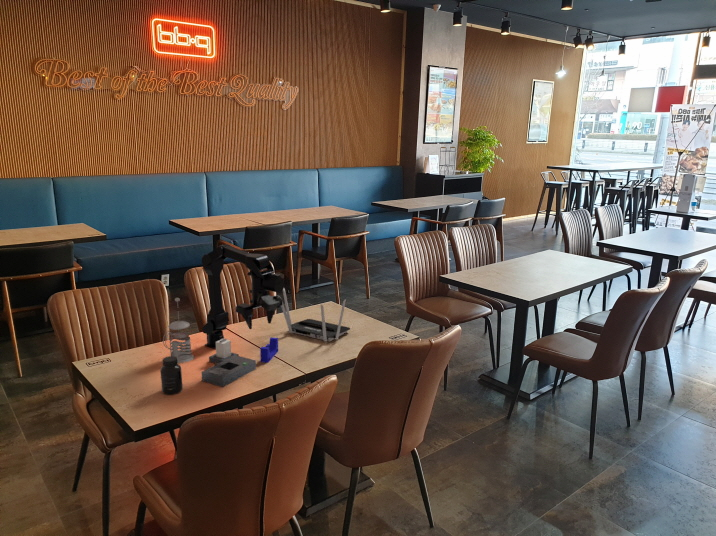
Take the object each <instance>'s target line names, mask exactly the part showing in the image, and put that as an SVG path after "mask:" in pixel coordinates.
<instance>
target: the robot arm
mask: <svg viewBox="0 0 716 536" xmlns="http://www.w3.org/2000/svg"><path fill="white" fill-rule="evenodd" d="M227 259H231V260H233V261H235V262H238V263H240V264H243V265H244V266H245V267H246V268H247V270H249V271H248V272H247V276H250V277H251V289H249V293H250V294H251V299H250V300H249V303H250V304H247V303H246V302H244V303H240V304H237V305H236V306H235V313H236V314H237V313H238V314H239V315H241V316H242V318H243V319H244V322H245V323H246V325H247V326H248V327H247V328H248V329H249V330H252V329H253V328H252V327H253V316H254V310H255V309H256V310H257V309H260V308H263V309H264V310H265V312H266V318H267V323H268V324H271V323H272V320H273V318H274V316H275V312H276V311H277V309H280V308H281V305H283V304H284V302H283V299H282V297H281V296H280V295H271V294H270V292H272V293H273V292H274V293H278V294H279V293H281V292H283V288H284V289H285V284H286V283H285V280H284V278H283V277H282V275H281V274H280V273H276V270H275V269H274V267H273V264H272V263H271V262H270V259H269V257H268V255H266V254H262V253H250V252H248V251H245V250H242V249H239V248H236V247H235V246H231V244H228V243H227V244H221V245H218V246H217V247H216V248H215V249H214V250H212V251H210V252H208V253H206V254H205V253H204V255H203V256H202V257H201V266H202V269H203V271H204V273H206V275H207V285H208V296H209V306H210V307H209V311H208V313H207V316H206V323H205V324H204V325H203V326H202V327H201V330H202V333H203V334H206V343H205V344H204V347H208V348H212V349H214V350H216V342H217V341H219V340H221V339H225V337H224V336H225V335H224V331H225V330H227V328H228V327H227V326H228V324H229V321H230V319H229V312H228V311H225V309H224V307H223V295H222V294H223V293H222V283H221V281H222V280H221V273H222V272H223V269H224V263H225V262H224V261H225V260H227ZM280 297H281V298H280Z"/></svg>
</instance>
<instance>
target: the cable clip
mask: <svg viewBox="0 0 716 536" xmlns="http://www.w3.org/2000/svg"><path fill="white" fill-rule="evenodd" d="M259 351H260V353H259V354H260V363H267V364H268V363H270V361H271V360H272V359H273V358H274V357H275V356H276V355H277V353H278V352H279V337H270V338H269V343H267V344H266V345H265V346H261V347H260V350H259Z"/></svg>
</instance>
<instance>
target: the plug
mask: <svg viewBox="0 0 716 536" xmlns="http://www.w3.org/2000/svg"><path fill="white" fill-rule="evenodd" d="M231 342H232V341H231V340H230V339H227V338H224V339H221V340H219V341H217V342H216V349H215V354H216V357H217V358H221V359H226V358H228V357H230V356H231V352H232V344H231Z"/></svg>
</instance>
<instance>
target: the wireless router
mask: <svg viewBox="0 0 716 536" xmlns="http://www.w3.org/2000/svg"><path fill="white" fill-rule="evenodd" d="M286 292H287V291H286V289H285V287H284V288H283V290H282V294H283V295H282V296H283V298H284V299H283V300H284V303H283V305H281V306H280V308H281V310H282V314H283V316H284V319H285V323H286V326H287V329H288V332H289V334H296V335H300V336H305V337H310V338H314V339H318V340H322V341H323V342H332V341H334V340H339V339H340V337H341V336H343V335H344V333H345V334H347V333H348V331H350V330H351V328H350V327H349V326H344V325H342V321H343V317H344V311H345V305H346V301H347V298H346V299H345V298H344V300H343V301H342V304H341V305H342V306H341V310H340V315H339V320H338V324H334V323H330V322H327V321H326V320H325V319H326V316H325V309H324V308H325V307H324V305H323V304H320V312H321V313H320V316H321V320H317V319H312V318H306V319H304V320H300V321H297V322H294V323H292V319H291V314H290V313H291V312H290V309H289V304H288V298H287V293H286ZM280 298H281V299H282V297H281V296H280Z"/></svg>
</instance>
